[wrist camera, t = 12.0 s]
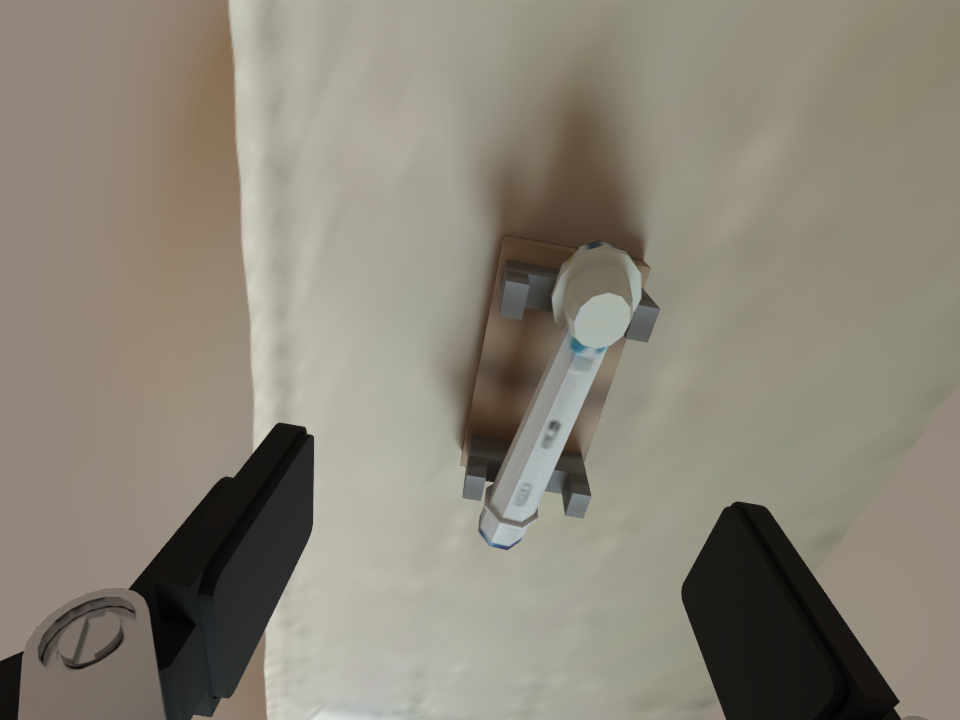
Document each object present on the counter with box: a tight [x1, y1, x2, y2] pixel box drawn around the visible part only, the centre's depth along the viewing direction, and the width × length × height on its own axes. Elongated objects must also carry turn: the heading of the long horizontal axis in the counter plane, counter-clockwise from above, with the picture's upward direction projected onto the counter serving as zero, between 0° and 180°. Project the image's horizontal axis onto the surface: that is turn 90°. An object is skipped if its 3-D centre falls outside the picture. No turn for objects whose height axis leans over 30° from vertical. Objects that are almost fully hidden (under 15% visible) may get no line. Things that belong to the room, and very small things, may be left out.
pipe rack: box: [460, 235, 660, 518], centre depth 37 cm, size 21×11×8 cm, turn 170°
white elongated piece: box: [478, 241, 641, 550], centre depth 34 cm, size 5×7×25 cm
